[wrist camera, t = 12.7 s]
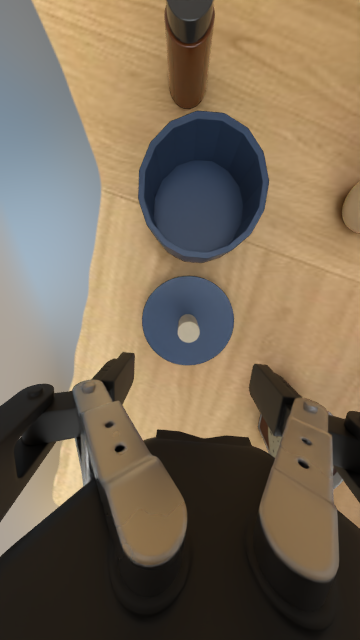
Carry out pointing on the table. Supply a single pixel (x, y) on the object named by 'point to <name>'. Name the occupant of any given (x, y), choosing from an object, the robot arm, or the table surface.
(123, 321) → the table surface
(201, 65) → the spice bottle
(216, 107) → the table surface
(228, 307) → the lid
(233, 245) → the blue round pot
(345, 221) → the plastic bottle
